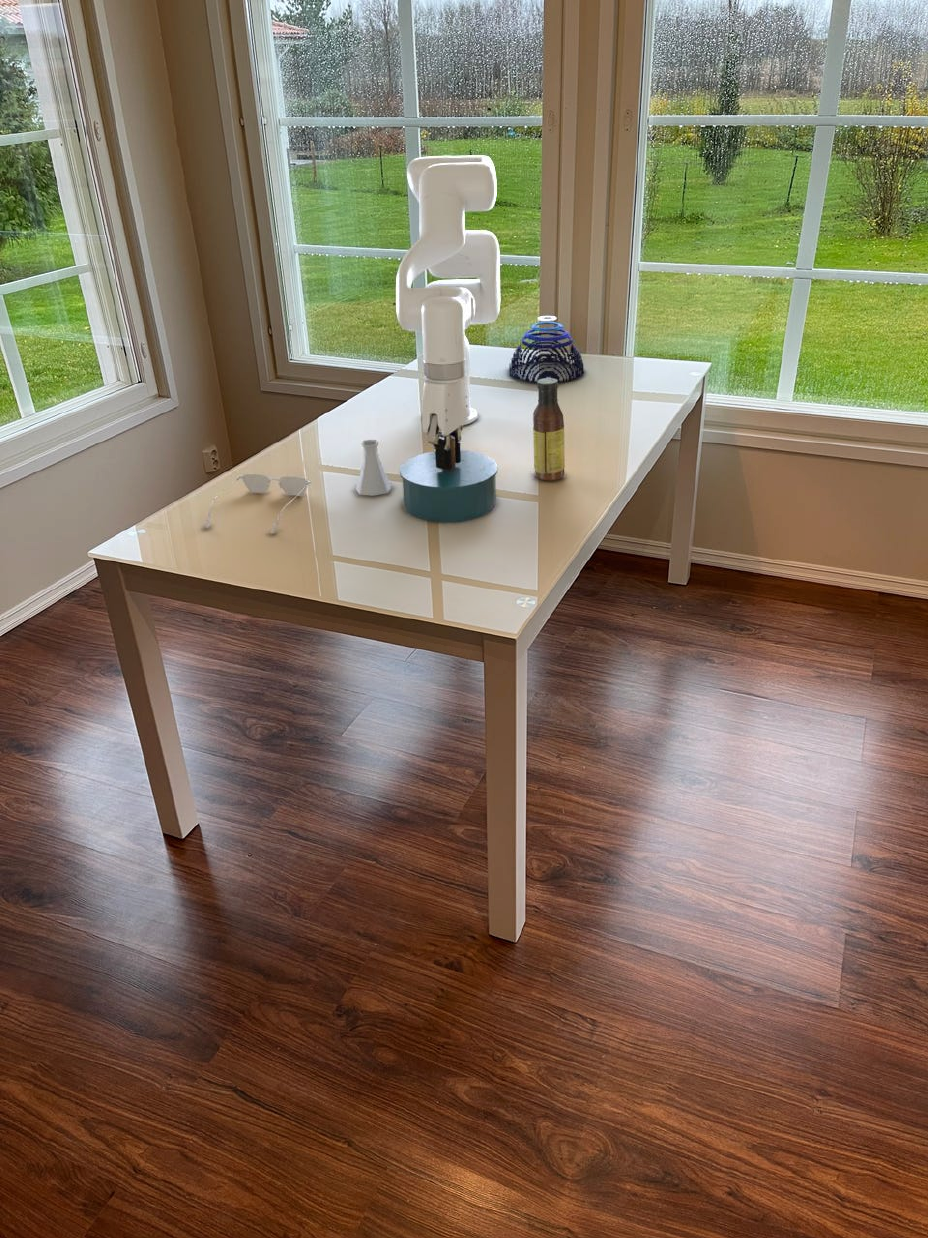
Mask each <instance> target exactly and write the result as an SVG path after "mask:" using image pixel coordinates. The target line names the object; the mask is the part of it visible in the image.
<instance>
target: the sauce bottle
mask: <svg viewBox="0 0 928 1238" xmlns="http://www.w3.org/2000/svg"><path fill="white" fill-rule="evenodd" d="M536 381H537V380H536ZM536 384H537V385H536V388H537V390H538V391H537V392H538V393H537V394H538V397H537V398H538V399H537V404H536V407H535V408H534V410H533V413H532V420H533V421H532V423H533V427H532V437H533V438H532V439H533V443H532V444H533V470H534V475H535V477H536V478H537V479H538V480H542V481H548V482H549V481H556V480H557V481H558V480H560V479H562V478H564V475H565V468H566V463H565V460H566V459H565V456H566V455H565V419H564V414H563V412H562V409H561V408H560V405H559V403H558V402H559V401H558V389H559V383H558V380H556V379H553V378H550V377H546V378H544V379H540V380H538V381H537V383H536Z"/></svg>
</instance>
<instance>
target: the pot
mask: <svg viewBox="0 0 928 1238" xmlns="http://www.w3.org/2000/svg"><path fill="white" fill-rule="evenodd" d="M496 488H497V487H496V475H495V476H494V477H493V478H492V479H491V480H489V481H488V482H486V483H483V484H481V485H478V486H475V487H471V488H466V489H459V490H432V489H425V488H420V487H417V486H414V485H411V484H409V483H407V482H406V481H404V480H403V479H402V493H403V503H404V508H405V510H406V511H407V513H409V514H410V515H412V516H413V517H416V518H418V519H419V520H420V519H421V520H425V521H430V522H435V523H456V522H457V523H458V522H465V521H470V520H474V519H477V518H480V517H482V516H484V515H486V514H488V513H489V512H491V511H492V510H493V509H494V507H495V504H496V499H497V498H496V496H497V494H496V492H497V491H496V490H497V489H496Z"/></svg>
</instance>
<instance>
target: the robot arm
mask: <svg viewBox="0 0 928 1238" xmlns="http://www.w3.org/2000/svg"><path fill="white" fill-rule="evenodd" d="M494 165H495V164H494V163H493V161H492V159H491V158H490V156H487V155H434V156H422V157H417V158H414V159H412V160H410V162H409V163H408V165H407V168H406V176H407V177H406V179H407V181H408V182H407V183H408V186H409V188H410V190H411V191H410V192H411V193H412V194H413V196H414V198H415V199H416V200H417V202H418V214H419V216H418V218H419V219H418V221H419V226H418V227H419V228H418V229H419V230H418V231H419V238H418V239H417V241H415V243H413V245H412V246H410V248H409V249H408V250H407V251H406V253H405V254H404V256H403V258H402V260H401V261H400V263H399V265H398V270H397V273H396V280H395V311H396V312H395V313H396V318H397V322H398V324H399V325H400V327H401V328H402V329H403V330H405V331H408V332H421V335H422V353H423V354H422V357H423V374H424V376H423V377H424V382H423V388H422V389H423V390H422V400H421V403H422V405H421V407H422V408H421V410H422V412H421V413H422V414H421V415H422V417H421V418H422V421H421V423H422V425H421V426H422V432H423V433H424V435H425V434H426V435H427V434H428V438H427V442H428V443H429V444H431V445H432V446H433V449H434V451H435V457H436V467H437V468H440V469H446V470H451V469H452V449H449V447H450V435H451V436H454V437H455V455H456V463H460V462H461V451H460V450H461V441H462V430H463V426H465V425H468V424H471V423H473V422H475V421H476V420H477V419H478V411H477V410H476V409H474V408H472V407H471V372H470V371H471V370H470V369H471V368H470V364H471V363H470V344H469V340H468V338H467V336H466V329H468V328H469V326H471V325H483V324H485V325H486V324H491V323H494V322H495V321H496V320H497V319H498V317H499V314H500V310H501V309H500V308H501V270H500V269H501V263H500V262H501V258H500V257H501V256H500V246H499V242H498V239H497V236H496V235H495V234H494V233H493V232H491V231H489V230H482V229H481V230H466V227H465V226H466V225H465V224H466V223H465V212H487V211H490V210H492V209H493V207H494V206H495V203H496V199H497V192H498V191H497V189H498V188H497V187H498V186H497V175H496V170H495V166H494ZM426 270H428V272H429V273H430V275H431V276H433V277H435V278H440V280H435V281H432V282H429V283H428V284H427V285H426V286H424V287H412V284H413V282H414V281H415V280H416V278H417V277H418V276H419V275H421V274H422V273H423V272H424V271H426ZM472 278H475V279H472ZM441 279H442V280H441ZM440 437H444V441H443V439H440Z"/></svg>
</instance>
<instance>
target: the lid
mask: <svg viewBox="0 0 928 1238" xmlns="http://www.w3.org/2000/svg"><path fill="white" fill-rule="evenodd" d="M439 438H440V439H443V441H444V437H439ZM449 449H452V469H451V470H446V469H440V468H437V467H436V457H435V450H434V451H429V452H423V453H420V454H417V455H415V456H412V457H410V458H409V459H407V460H405V461H403V463H402V464H401V466H400V468H399V475H400V477H401V479H402V481H403V480H404V481H406V482H407V483H409V484H411V485H414V486H417V487H420V488H425V489H432V490H459V489H466V488H471V487H475V486H478V485H481V484H483V483H486V482H488V481H489V480H491V479H492V478H493V477H494V476H495V477H496V475H497V474H498V464H497V462H496V461H495V460H494V459H493V458H491V457H489V456H488V455H486V454H483V453H480V452H475V451H471V450H461V449H460V451H461V462H460V463H456V455H455V437H454V436H451V435H450V447H449Z"/></svg>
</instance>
